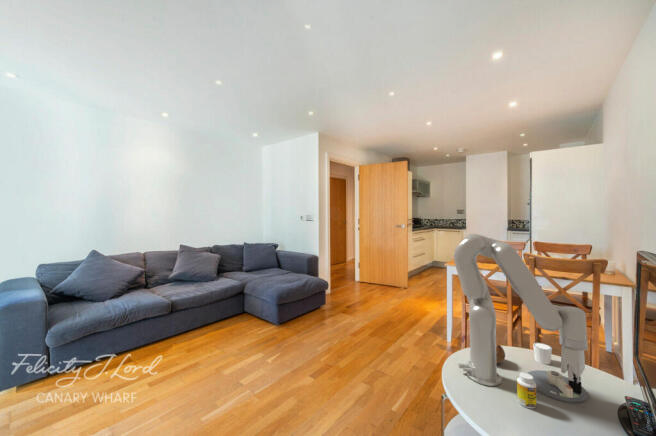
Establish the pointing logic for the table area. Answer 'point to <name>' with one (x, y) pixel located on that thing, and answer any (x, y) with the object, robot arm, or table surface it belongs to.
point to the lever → (559, 383)
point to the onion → (499, 354)
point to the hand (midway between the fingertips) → (575, 391)
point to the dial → (555, 388)
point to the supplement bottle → (526, 390)
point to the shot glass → (542, 353)
